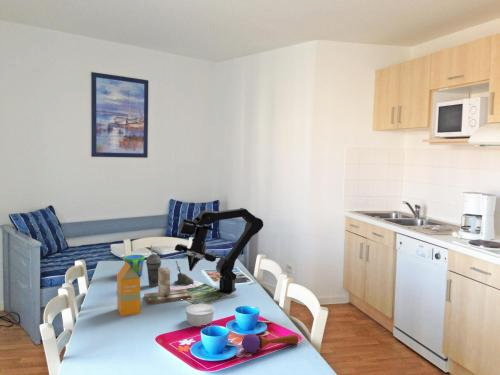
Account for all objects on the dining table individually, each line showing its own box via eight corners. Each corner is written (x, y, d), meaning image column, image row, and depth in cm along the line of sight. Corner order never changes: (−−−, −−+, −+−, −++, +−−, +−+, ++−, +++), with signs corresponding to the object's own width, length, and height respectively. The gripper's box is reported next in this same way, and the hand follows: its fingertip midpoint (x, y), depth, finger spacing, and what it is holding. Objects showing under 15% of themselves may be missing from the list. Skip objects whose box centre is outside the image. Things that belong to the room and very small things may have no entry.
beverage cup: (157, 288, 204) (157, 247, 202) (143, 287, 206) (143, 246, 204) (163, 283, 211) (163, 244, 210) (150, 282, 213) (149, 243, 211)
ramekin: (202, 330, 157) (202, 316, 157) (179, 323, 163) (179, 310, 163) (220, 320, 167) (220, 307, 166) (197, 314, 173) (197, 301, 172)
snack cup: (125, 272, 231) (124, 253, 230) (145, 271, 234) (145, 252, 233) (123, 280, 216) (122, 260, 215) (144, 279, 218) (144, 259, 217)
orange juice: (121, 316, 169) (120, 267, 168) (117, 309, 177) (116, 261, 176) (140, 313, 173) (140, 264, 171) (136, 306, 181) (135, 259, 179)
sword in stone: (193, 280, 218) (193, 257, 217) (194, 285, 211) (194, 262, 209) (173, 281, 216) (173, 258, 215) (174, 286, 209) (174, 263, 207)
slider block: (167, 291, 194) (167, 267, 193) (171, 296, 187) (171, 271, 186) (158, 292, 192) (158, 267, 192) (162, 297, 185) (161, 272, 184)
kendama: (301, 336, 144) (247, 341, 137) (298, 351, 146) (244, 357, 138) (293, 326, 150) (240, 330, 142) (290, 341, 151) (238, 346, 143)
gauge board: (185, 292, 200) (185, 288, 199) (191, 298, 190) (191, 294, 190) (144, 297, 192) (144, 292, 192) (148, 304, 183) (148, 300, 183)
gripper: (223, 242, 201) (214, 275, 200) (187, 231, 205) (178, 263, 204) (216, 244, 190) (207, 278, 189) (178, 232, 194) (169, 265, 193)
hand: (190, 270), depth 194 cm, fingers closed
